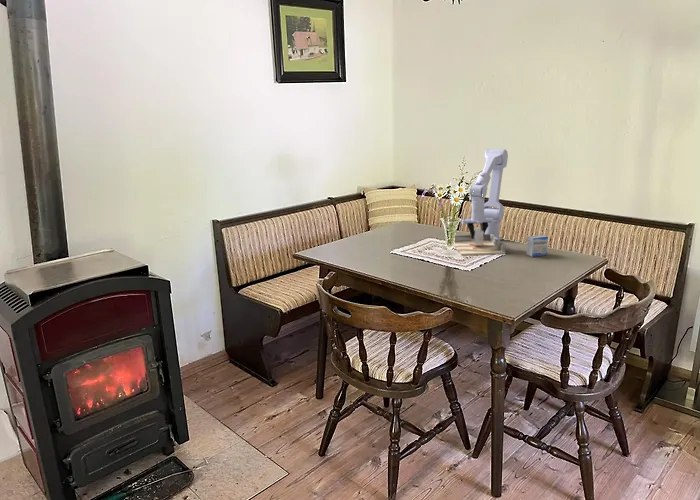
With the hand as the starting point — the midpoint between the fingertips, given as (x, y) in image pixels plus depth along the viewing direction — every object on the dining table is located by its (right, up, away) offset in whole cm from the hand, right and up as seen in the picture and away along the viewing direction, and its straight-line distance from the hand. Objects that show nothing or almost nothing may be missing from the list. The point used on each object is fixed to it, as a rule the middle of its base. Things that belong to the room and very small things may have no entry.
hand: (477, 238), depth 256 cm
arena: (0, -4, 0) cm, 5 cm away
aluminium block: (0, -2, +1) cm, 2 cm away
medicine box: (+23, -8, -14) cm, 28 cm away
